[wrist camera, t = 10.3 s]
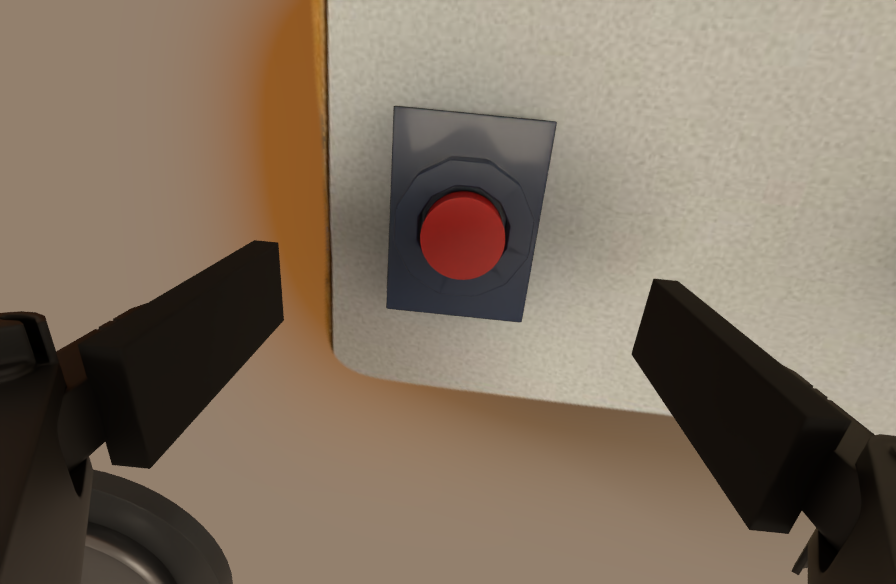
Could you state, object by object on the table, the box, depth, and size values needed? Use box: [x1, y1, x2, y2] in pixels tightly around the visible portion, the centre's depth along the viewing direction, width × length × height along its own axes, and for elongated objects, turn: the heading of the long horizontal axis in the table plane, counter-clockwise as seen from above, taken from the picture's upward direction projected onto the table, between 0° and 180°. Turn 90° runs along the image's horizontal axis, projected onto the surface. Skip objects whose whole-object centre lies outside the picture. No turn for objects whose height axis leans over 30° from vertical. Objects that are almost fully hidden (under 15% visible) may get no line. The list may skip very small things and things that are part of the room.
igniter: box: [386, 106, 557, 322], centre depth 23 cm, size 11×8×4 cm
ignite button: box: [420, 191, 505, 280], centre depth 21 cm, size 4×4×2 cm
